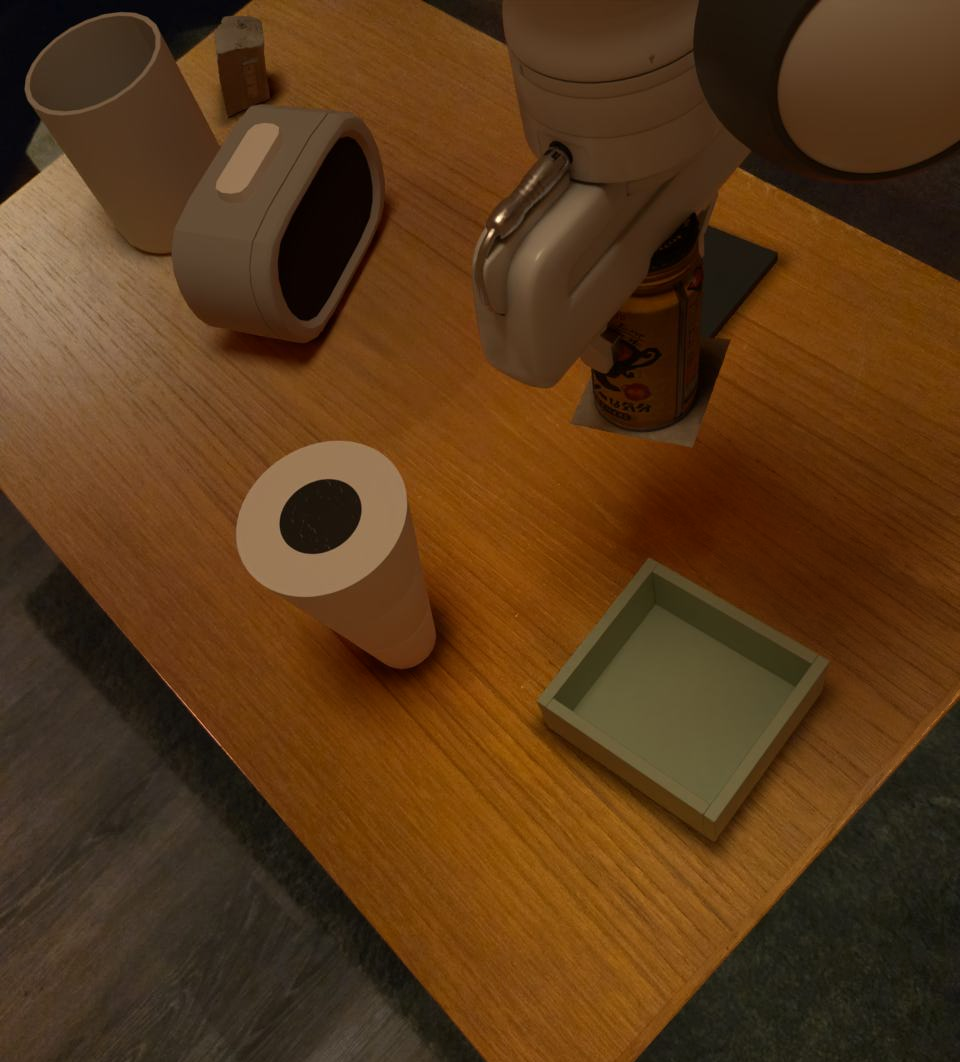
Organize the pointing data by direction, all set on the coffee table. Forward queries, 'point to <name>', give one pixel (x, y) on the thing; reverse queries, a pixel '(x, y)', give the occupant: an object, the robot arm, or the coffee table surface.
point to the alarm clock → (280, 222)
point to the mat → (729, 276)
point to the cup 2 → (341, 547)
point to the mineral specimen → (241, 62)
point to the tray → (683, 696)
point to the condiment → (659, 353)
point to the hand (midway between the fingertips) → (643, 310)
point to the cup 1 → (124, 122)
